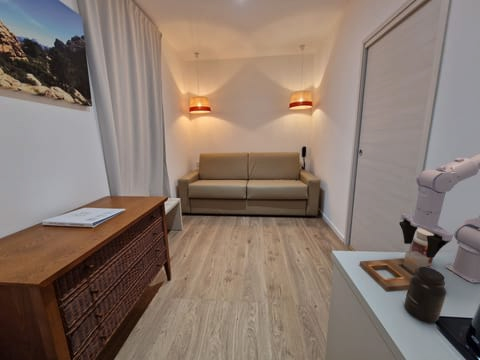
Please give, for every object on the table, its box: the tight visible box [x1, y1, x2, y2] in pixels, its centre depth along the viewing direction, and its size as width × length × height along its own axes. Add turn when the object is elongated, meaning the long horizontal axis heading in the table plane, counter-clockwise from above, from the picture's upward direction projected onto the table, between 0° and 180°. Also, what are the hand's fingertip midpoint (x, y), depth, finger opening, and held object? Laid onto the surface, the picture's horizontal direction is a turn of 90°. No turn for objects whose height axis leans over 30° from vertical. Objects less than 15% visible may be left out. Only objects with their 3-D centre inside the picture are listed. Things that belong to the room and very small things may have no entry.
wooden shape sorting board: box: [359, 257, 446, 292], centre depth 68 cm, size 19×12×2 cm, turn 97°
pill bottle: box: [410, 228, 434, 267], centre depth 74 cm, size 6×6×11 cm
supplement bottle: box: [403, 266, 447, 324], centre depth 53 cm, size 7×7×12 cm
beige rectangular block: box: [403, 251, 429, 276], centre depth 68 cm, size 4×4×7 cm
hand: (418, 249), depth 67 cm, fingers open, 7 cm apart
